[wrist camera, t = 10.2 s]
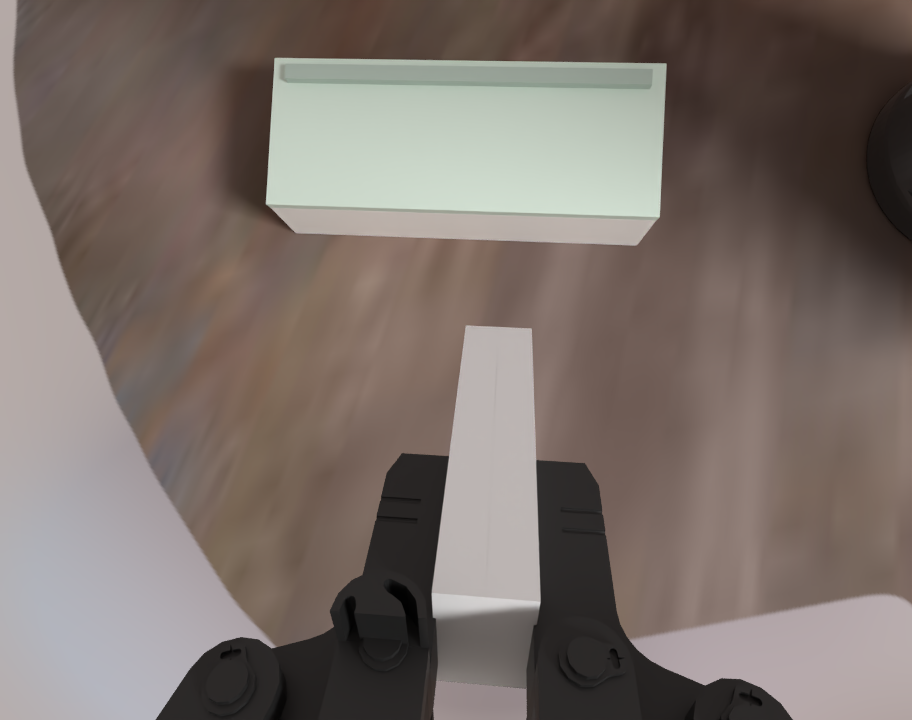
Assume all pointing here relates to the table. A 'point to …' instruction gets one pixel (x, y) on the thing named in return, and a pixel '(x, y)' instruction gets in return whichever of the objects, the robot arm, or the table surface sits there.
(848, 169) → the table surface
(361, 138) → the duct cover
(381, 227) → the cable duct
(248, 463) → the table surface
